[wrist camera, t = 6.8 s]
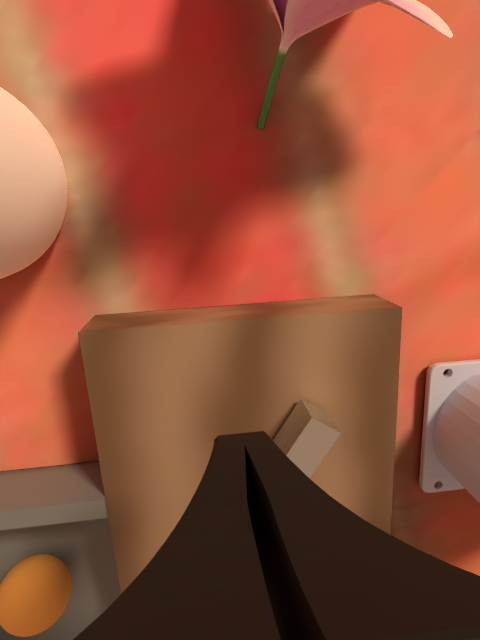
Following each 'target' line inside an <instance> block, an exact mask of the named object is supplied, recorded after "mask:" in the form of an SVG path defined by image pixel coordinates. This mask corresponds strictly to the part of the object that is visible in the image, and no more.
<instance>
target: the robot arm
mask: <svg viewBox="0 0 480 640" xmlns="http://www.w3.org/2000/svg"><path fill="white" fill-rule="evenodd" d="M446 369H448V373H447V374H445V375H443V373H444V371H445V370H446ZM438 481H439V482H438ZM436 482H438V483H437V484H435V483H436ZM419 486H420V488H421V489H422V490H423V491H424V492H426V493H434V492H442V491H451V490H459V489H466V490H467V491H468V492H469V493H470V494H471V495H472V496H473V497H474V498H475V499H476V500H477V501H478V503H479V504H480V359H476V360H465V361H454V362H443V363H435V364H432V365H431V366H429V368H428V369H427V375H426V389H425V404H424V418H423V432H422V447H421V461H420V475H419ZM73 640H480V576H478V575H476V574H473V573H471V572H468V571H465V570H463V569H460V568H458V567H455V566H453V565H450V564H448V563H446V562H444V561H441V560H439V559H437V558H435V557H433V556H431V555H429V554H426V553H424V552H422V551H420V550H418V549H416V548H414V547H412V546H410V545H408V544H406V543H404V542H402V541H400V540H398V539H397V538H395V537H393V536H391V535H389V534H388V533H386V532H384V531H383V530H381V529H379V528H377V527H376V526H374V525H372V524H370V523H369V522H367V521H366V520H364V519H362V518H361V517H359V516H358V515H356V514H355V513H353V512H352V511H351V510H349V509H348V508H346V507H345V506H343V505H342V504H340V503H339V502H338V501H336V500H335V499H334V498H332V497H331V496H330V495H328V494H327V493H326V492H325V491H324V490H322V489H321V488H320V487H319V486H318V485H317V484H315V483H314V482H313V481H312V480H311V479H310V478H309V477H308V476H307V475H305V474H304V473H303V472H302V471H301V470H300V469H299V468H298V467H297V466H296V465H295V464H294V463H293V462H292V461H291V460H290V459H289V458H288V457H287V456H286V455H285V453H284V452H283V451H282V450H281V449H280V448H279V447H278V446H277V445H276V443H275V442H274V441H273V440H272V439H271V438H270V436H269V435H268V434H267V433H266V432H265V431H258V432H248V433H238V434H228V435H218V436H217V437H216V438H215V439H214V446H213V450H212V453H211V457H210V459H209V462H208V465H207V467H206V470H205V472H204V474H203V477H202V479H201V482H200V484H199V486H198V488H197V490H196V492H195V493H194V495H193V497H192V499H191V501H190V503H189V505H188V507H187V508H186V510H185V512H184V514H183V515H182V517H181V519H180V520H179V522H178V523H177V525H176V526H175V528H174V529H173V531H172V532H171V534H170V535H169V537H168V538H167V540H166V541H165V542H164V544H163V545H162V546H161V547H160V549H159V550H158V551H157V553H156V554H155V555H154V557H153V558H152V559H151V561H150V562H149V563H148V564H147V566H146V567H145V568H144V569H143V570H142V572H141V573H140V574H139V575H138V576H137V577H136V578H135V579H134V580H133V581H132V583H131V584H130V585H129V586H128V587H127V588H126V589H125V590H124V591H123V592H122V593H121V594H120V596H119V597H118V598H117V599H116V600H115V601H114V602H113V603H112V604H111V605H110V606H109V607H108V608H107V609H106V610H105V611H104V612H103V613H102V614H101V615H100V616H99V617H98V618H97V619H95V620H94V621H93V622H92V623H91V624H90V625H89V626H88V627H86V628H85V629H84V630H83V631H82V632H81V633H80V634H79V635H78V636H76V637H75V638H74V639H73Z"/></svg>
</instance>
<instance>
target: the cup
mask: <svg viewBox="0 0 480 640" xmlns="http://www.w3.org/2000/svg"><path fill="white" fill-rule="evenodd" d="M66 208H67V180H66V175H65V170H64V166H63V163H62V160H61V157H60V155H59V152H58V150H57V148H56V146H55V144H54V142H53V140H52V138H51V137H50V135H49V133H48V132H47V131H46V129H45V128H44V126H43V125H42V124H41V123H40V121H39V120H38V119H37V118H36V117H35V116H34V115H33V113H32V112H31V111H30V110H29V109H28V108H27V107H25V106H24V105H23V104H22V103H21V102H20V101H19V100H17V99H16V98H15V97H14V96H12V95H11V94H10V93H8V92H7V91H5V90H4V89H2V88H1V87H0V279H2V278H4V277H7V276H10V275H12V274H14V273H16V272H19V271H21V270H22V269H24V268H26V267H28V266H29V265H31V264H32V263H33V262H35V261H36V260H37V259H38V258H40V257H41V256H42V255H43V254H44V253H45V252H46V251H47V250H48V248H49V247H50V246H51V245H52V243H53V242H54V240H55V239H56V237H57V235H58V233H59V231H60V229H61V226H62V224H63V221H64V217H65V213H66Z"/></svg>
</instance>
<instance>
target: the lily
mask: <svg viewBox="0 0 480 640" xmlns="http://www.w3.org/2000/svg"><path fill="white" fill-rule="evenodd" d="M268 1H269V3H270V5H271V7H272V9H273V12H274V14H275V16H276V18H277V20H278V23H279V25H280V28H281V32H282V38H281V43H280V46H279V50H278V53H277V56H276V59H275V63H274V66H273V69H272V73H271V76H270V79H269V83H268V86H267V90H266V94H265V98H264V102H263V105H262V109H261V113H260V117H259V121H258V125H257V127H258V129H263V128H264V125H265V121H266V117H267V113H268V110H269V106H270V103H271V99H272V96H273V92H274V89H275V85H276V82H277V79H278V76H279V73H280V69H281V66H282V64H283V61H284V58H285V56H286V53H287V51H288V48H289V47H290V46H291V44H292V43H293V42H294V41H295V40H297V39H298V38H299V37H301V36H303V35H305V34H307V33H309V32H311V31H313V30H315V29H317V28H319V27H321V26H323V25H325V24H327V23H329V22H331V21H333V20H335V19H337V18H340V17H342V16H344V15H346V14H349V13H351V12H353V11H355V10H358V9H360V8H362V7H365V6H368V5H371V4H373V3H376V2H380V3H384V4H387V5H390V6H393V7H395V8H397V9H399V10H401V11H403V12H405V13H407V14H409V15H411V16H413V17H414V18H416V19H418V20H420V21H421V22H423V23H425V24H427V25H429V26H430V27H432V28H434V29H436V30H437V31H439V32H441V33H443V34H444V35H446V36H448V37H450V38H451V37H452V36H453V34H452V32H451V30H450V29H449V27H448V25H447V24H446V23H445V22H444V21H443V20H442V19H441V18H440V17H439V16H438V15H437V14H436V13H434V12H433V11H432V10H431V9H429V8H428V7H427V6H426V5H424V4H422V3H420V2H418V1H416V0H268Z"/></svg>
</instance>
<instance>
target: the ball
mask: <svg viewBox="0 0 480 640" xmlns="http://www.w3.org/2000/svg"><path fill="white" fill-rule="evenodd" d="M71 589H72V581H71V575H70V572H69V570H68V568H67V566H66V565H65V564H64V562H63V561H61V560H60V559H59V558H57V557H55V556H52V555H48V554H38V555H33V556H30V557H28V558H25V559H23V560H22V561H20V562H19V563H17V564H16V565H15V566H14V567H13V568H11V569H10V571H9V572H8V573H7V574H6V575H5V577H4V578H3V580H2V582H1V584H0V625H1V627H2V628H3V629H4V630H5V631H7V632H8V633H10V634H12V635H15V636H20V637H28V636H33V635H36V634H39V633H41V632H43V631H45V630H46V629H48V628H49V627H50V626H52V625H53V624H54V623H55V622H56V621H57V620H58V619H59V617H60V616H61V615H62V613H63V612H64V610H65V608H66V606H67V604H68V602H69V599H70V595H71Z"/></svg>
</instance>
